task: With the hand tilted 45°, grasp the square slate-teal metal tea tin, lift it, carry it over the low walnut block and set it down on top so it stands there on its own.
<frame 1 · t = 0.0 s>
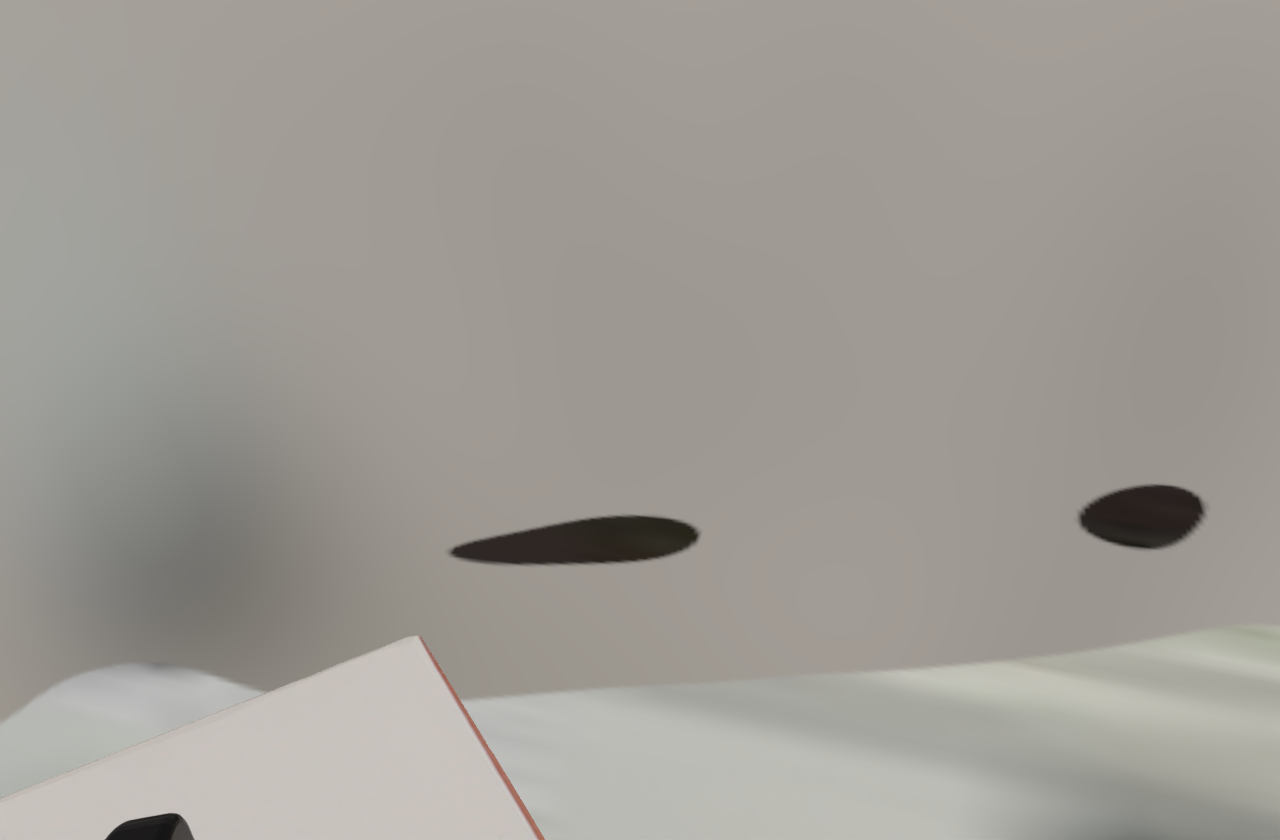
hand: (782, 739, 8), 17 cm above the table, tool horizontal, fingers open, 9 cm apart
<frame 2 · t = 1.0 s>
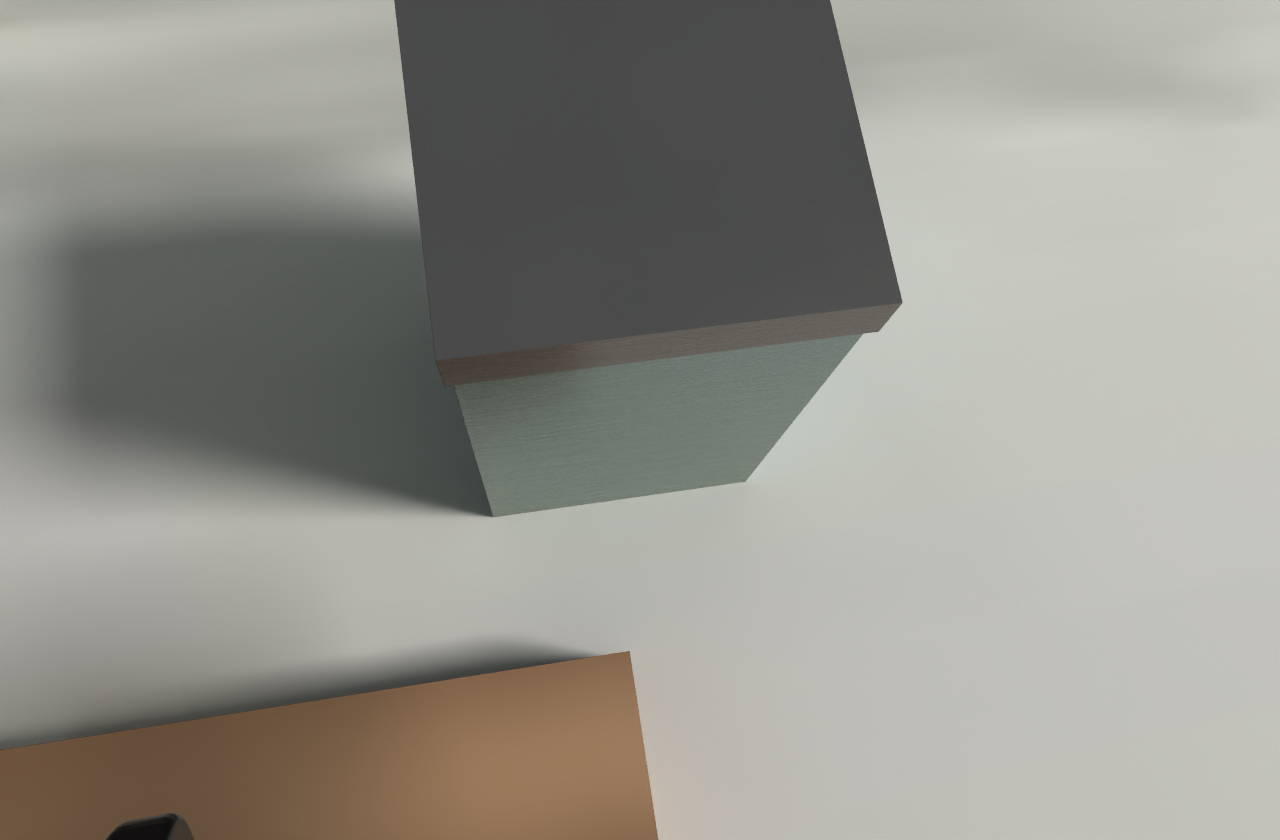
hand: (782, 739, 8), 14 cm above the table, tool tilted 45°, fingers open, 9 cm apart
tea tin: (602, 378, 23), on the table
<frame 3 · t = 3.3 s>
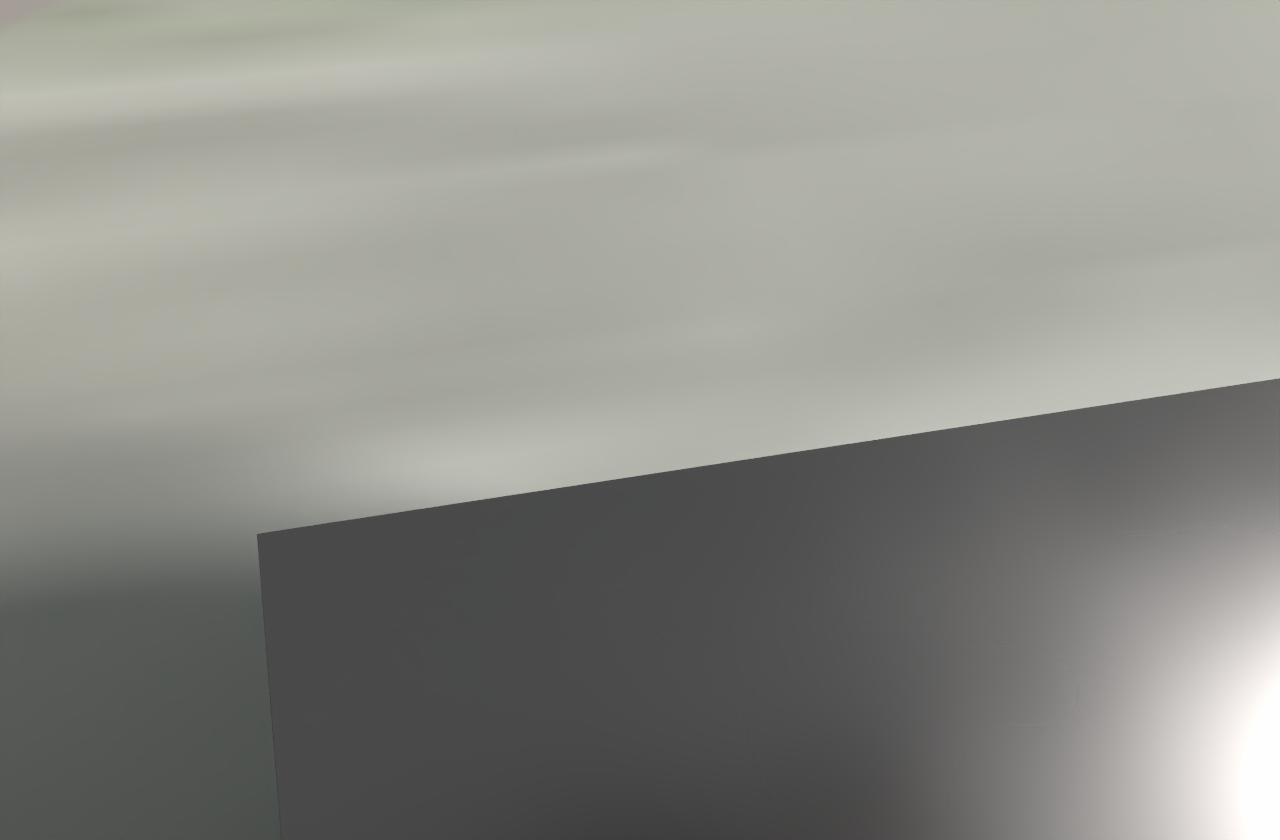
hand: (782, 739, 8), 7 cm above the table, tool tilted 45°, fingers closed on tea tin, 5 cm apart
tea tin: (703, 831, 14), on the table, touching gripper
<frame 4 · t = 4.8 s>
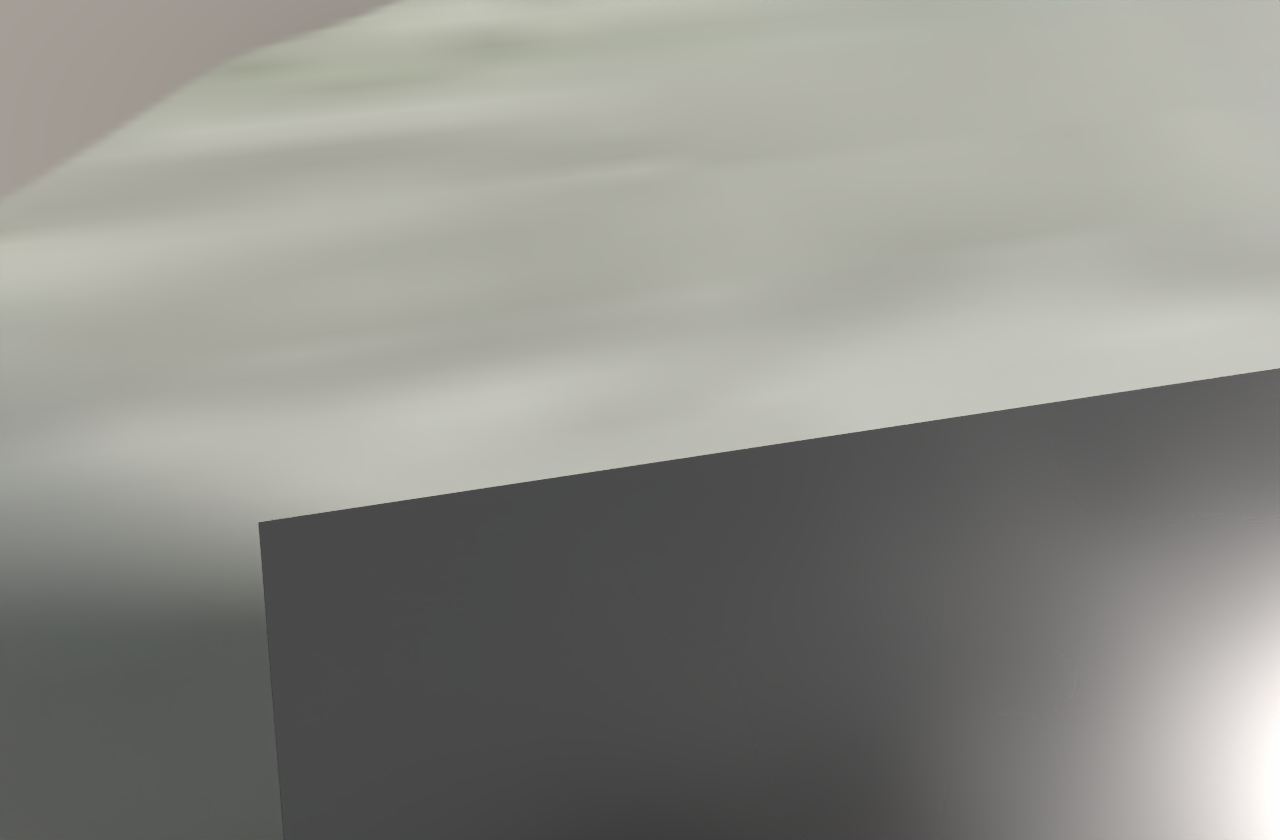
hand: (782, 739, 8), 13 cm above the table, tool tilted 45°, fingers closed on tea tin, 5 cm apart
tea tin: (703, 827, 14), point 6 cm above the table, touching gripper
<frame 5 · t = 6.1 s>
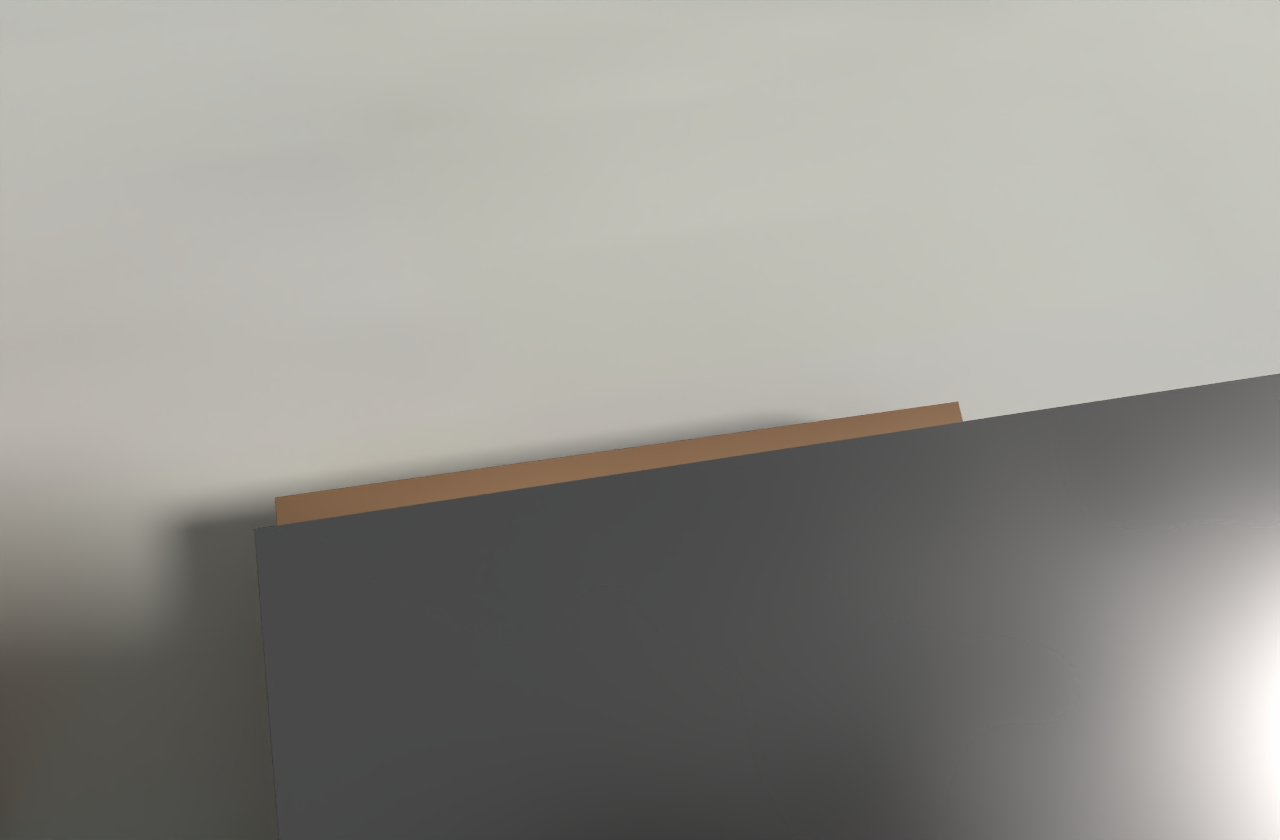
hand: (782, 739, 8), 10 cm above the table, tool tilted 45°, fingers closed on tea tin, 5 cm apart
walnut block: (667, 791, 18), on the table
tea tin: (703, 830, 14), point 4 cm above the table, touching gripper
when the fingers open (10 cm above the table, at t = 6.5 s): tea tin drops 1 cm, resting on walnut block.
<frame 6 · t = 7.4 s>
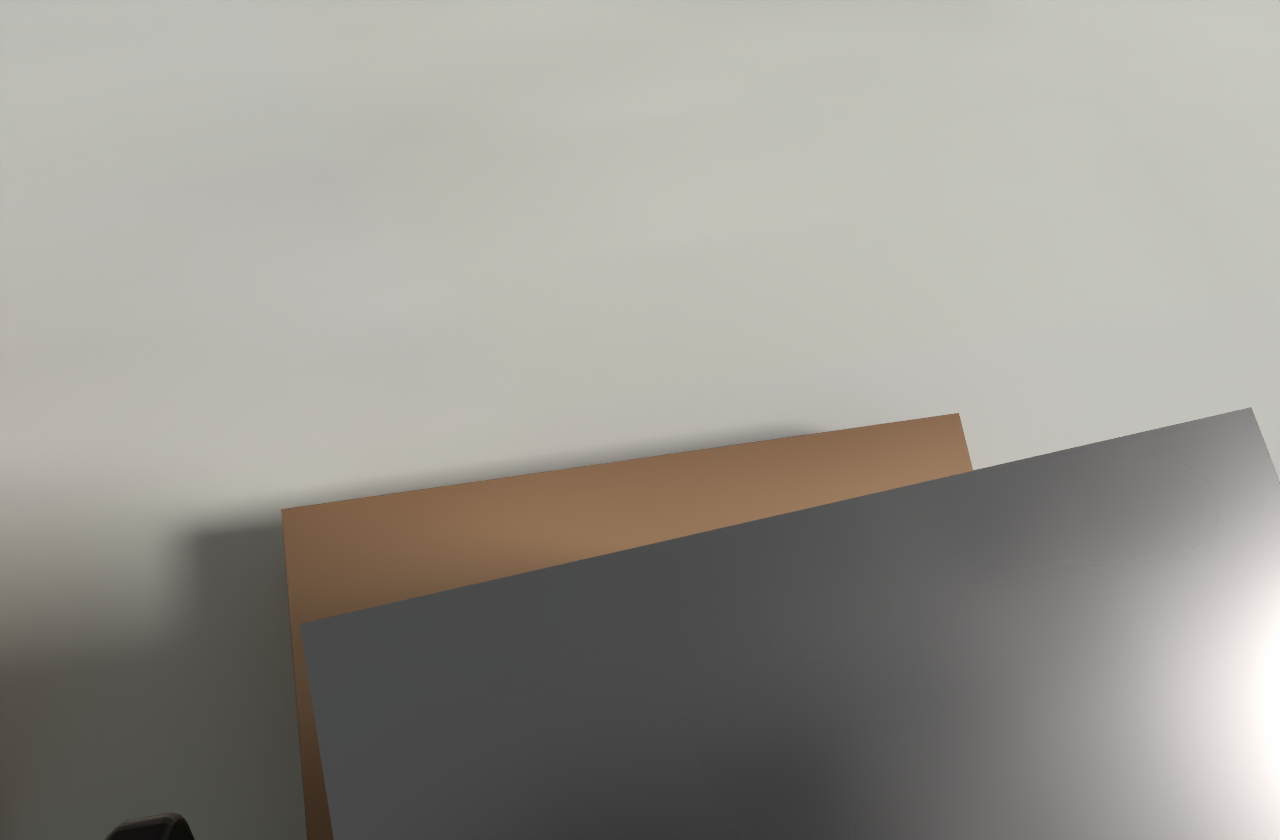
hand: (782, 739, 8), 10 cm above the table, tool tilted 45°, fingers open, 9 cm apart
walnut block: (670, 802, 18), on the table, touching tea tin
tea tin: (697, 816, 16), point 2 cm above the table, touching walnut block
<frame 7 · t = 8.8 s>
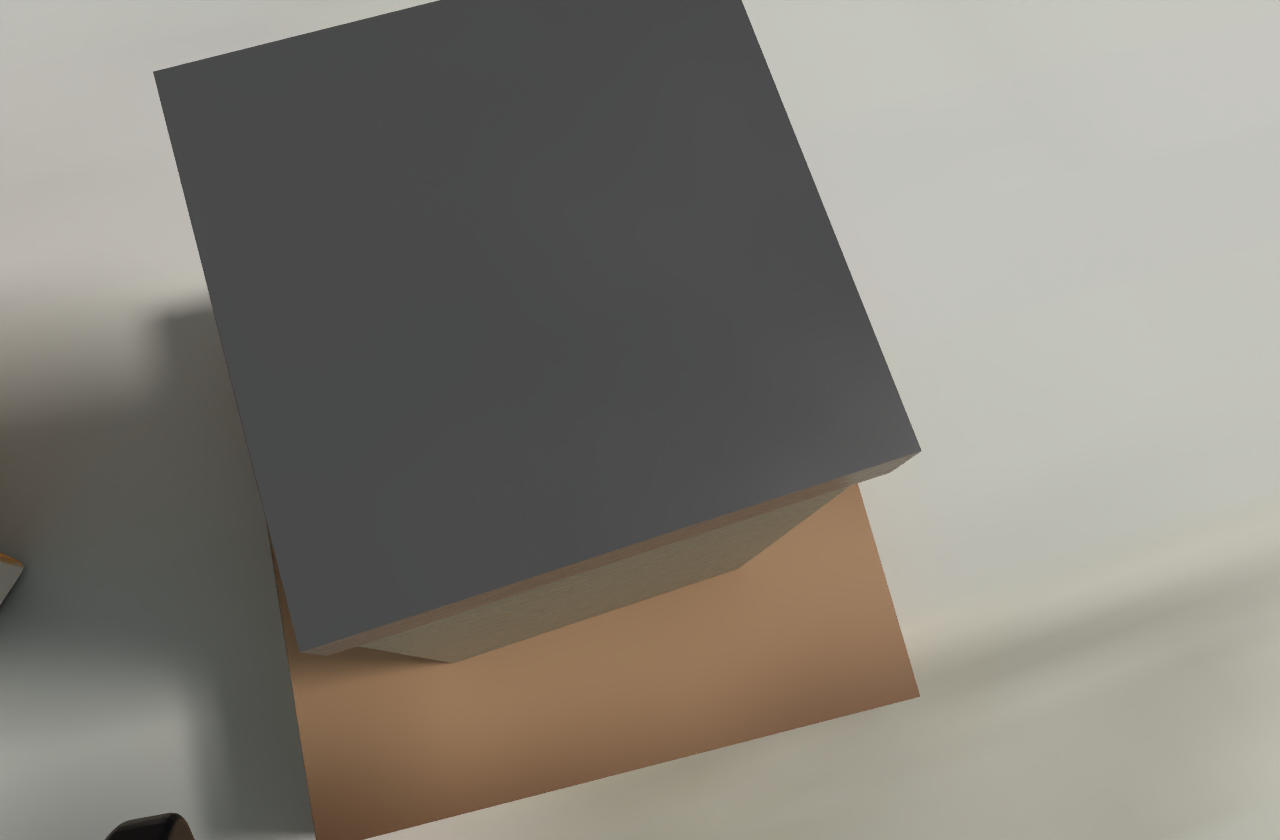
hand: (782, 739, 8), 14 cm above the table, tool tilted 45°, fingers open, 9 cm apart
walnut block: (563, 503, 23), on the table, touching tea tin
tea tin: (554, 474, 20), point 2 cm above the table, touching walnut block
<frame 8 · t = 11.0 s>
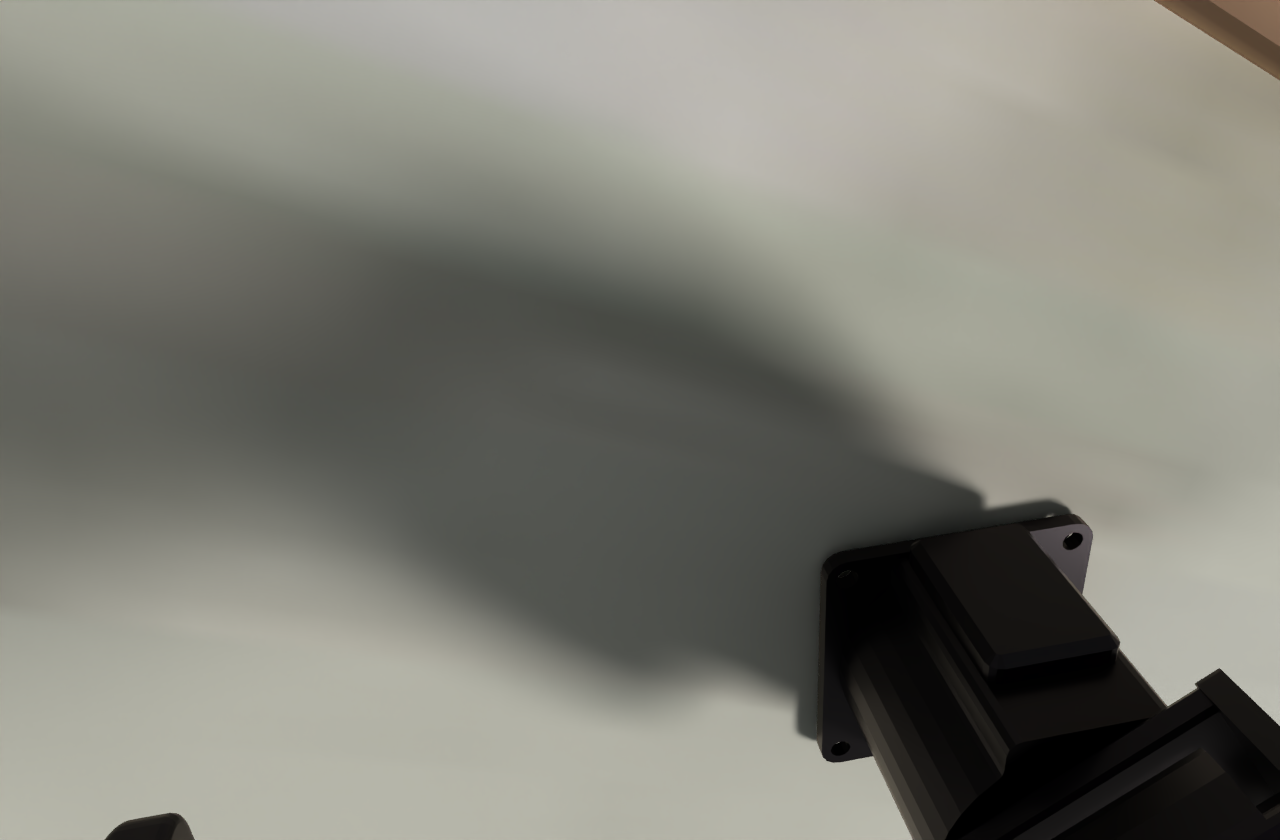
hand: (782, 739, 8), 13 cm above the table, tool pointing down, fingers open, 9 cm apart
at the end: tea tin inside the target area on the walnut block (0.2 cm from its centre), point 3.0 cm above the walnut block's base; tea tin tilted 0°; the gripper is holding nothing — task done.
